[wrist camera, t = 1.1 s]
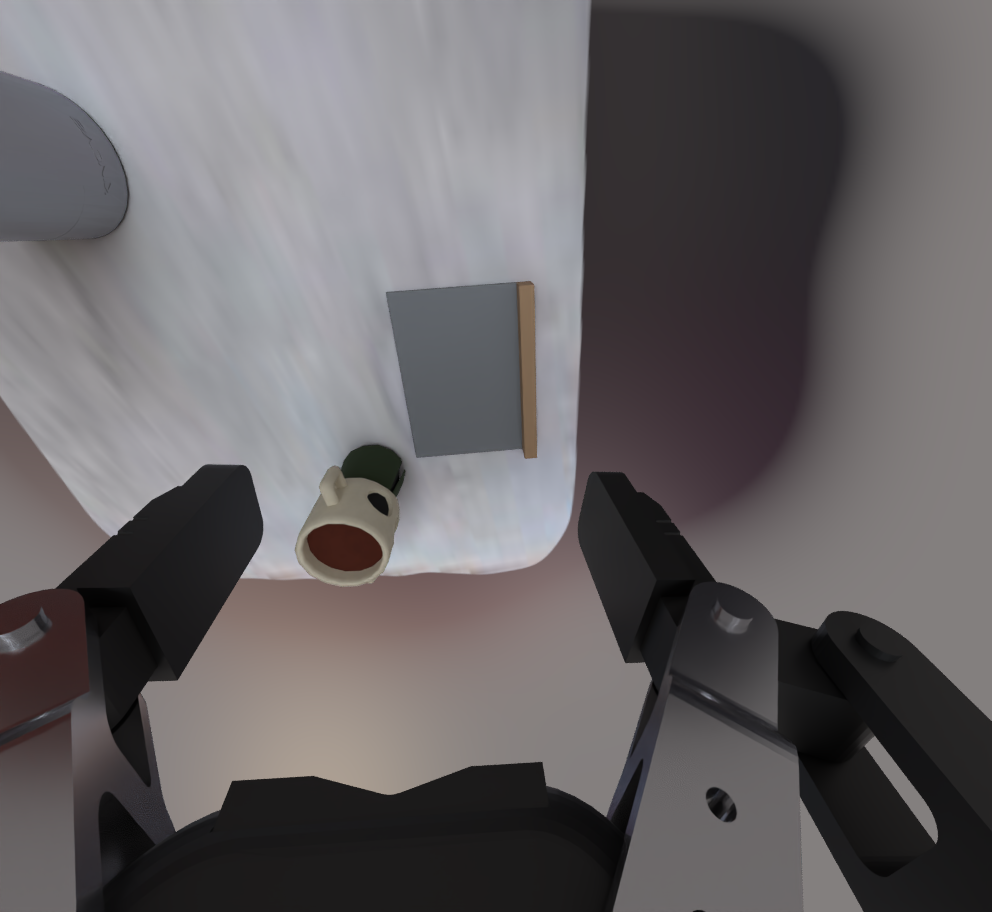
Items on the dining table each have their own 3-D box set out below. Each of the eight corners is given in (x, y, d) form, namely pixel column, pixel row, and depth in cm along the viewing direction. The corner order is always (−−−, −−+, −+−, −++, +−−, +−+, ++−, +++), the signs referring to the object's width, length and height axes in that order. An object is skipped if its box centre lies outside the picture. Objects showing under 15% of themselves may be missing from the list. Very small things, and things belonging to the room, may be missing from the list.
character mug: (423, 502, 45) (408, 594, 34) (361, 514, 46) (326, 610, 34) (392, 414, 40) (362, 489, 29) (322, 429, 40) (265, 508, 29)
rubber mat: (416, 456, 42) (414, 468, 40) (386, 292, 34) (381, 296, 32) (533, 446, 42) (537, 457, 40) (530, 281, 35) (534, 284, 32)
